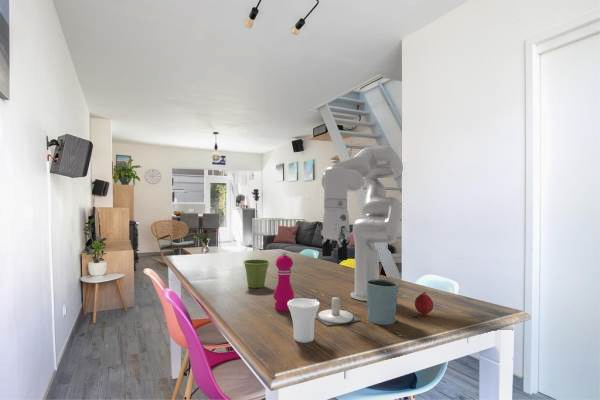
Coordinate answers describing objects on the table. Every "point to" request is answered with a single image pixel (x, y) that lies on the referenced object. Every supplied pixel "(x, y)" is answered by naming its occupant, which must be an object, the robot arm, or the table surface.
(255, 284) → the plant pot
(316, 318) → the mat
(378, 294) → the blue round container
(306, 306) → the cup
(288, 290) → the pepper mill
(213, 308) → the table surface
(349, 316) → the lid
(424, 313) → the onion
